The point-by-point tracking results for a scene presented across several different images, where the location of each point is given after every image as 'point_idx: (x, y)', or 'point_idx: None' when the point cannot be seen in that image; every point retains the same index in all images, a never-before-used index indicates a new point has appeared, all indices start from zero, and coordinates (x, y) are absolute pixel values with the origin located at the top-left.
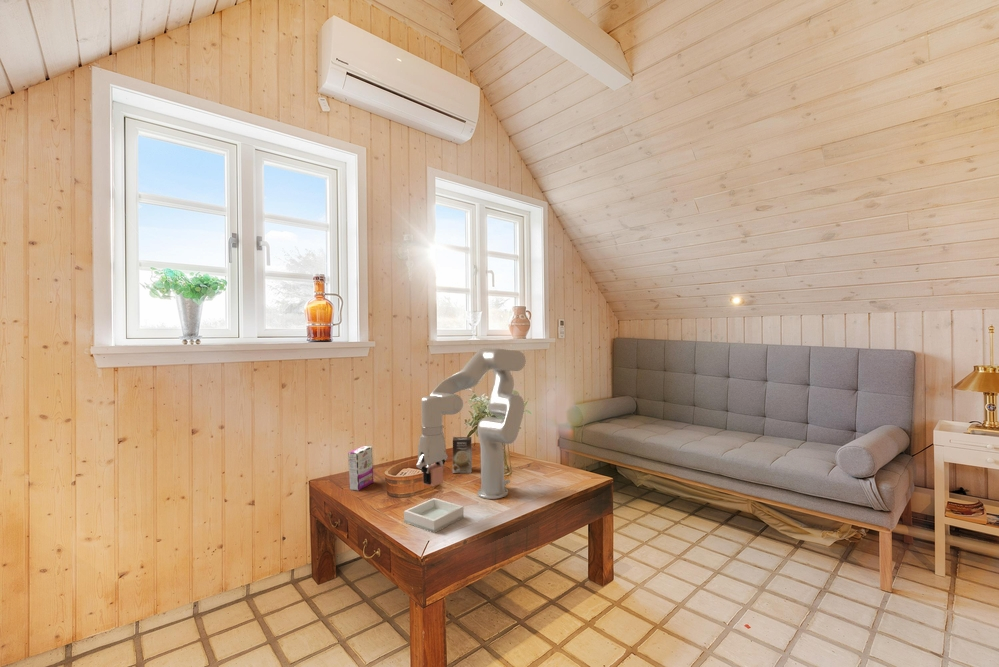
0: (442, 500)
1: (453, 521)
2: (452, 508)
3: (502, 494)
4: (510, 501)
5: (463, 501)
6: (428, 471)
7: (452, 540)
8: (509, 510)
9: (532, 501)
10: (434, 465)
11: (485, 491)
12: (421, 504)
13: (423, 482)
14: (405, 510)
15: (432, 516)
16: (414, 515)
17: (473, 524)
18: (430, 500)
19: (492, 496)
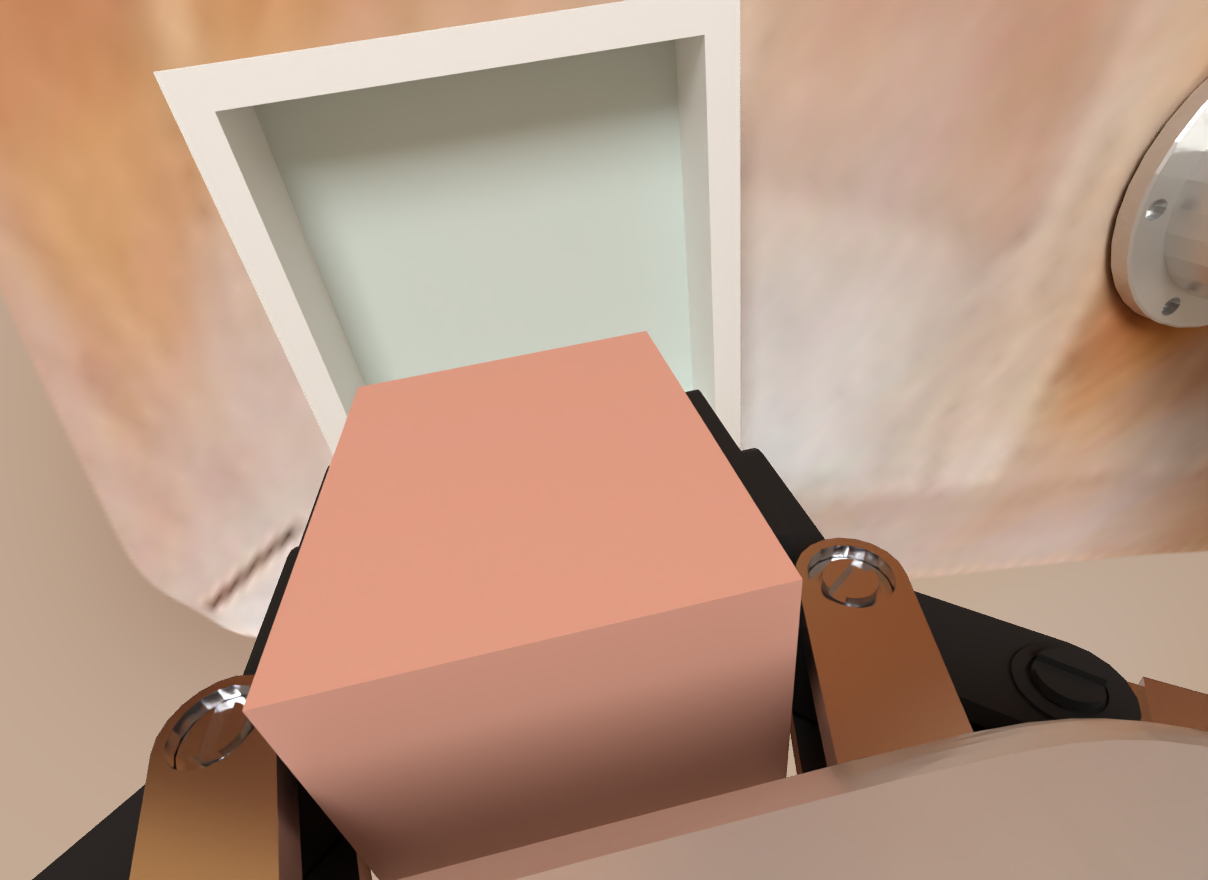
0: (738, 170)
1: None
2: (701, 336)
3: (1196, 319)
4: (1106, 404)
5: (993, 107)
6: (331, 832)
7: None
8: (959, 501)
9: (1139, 489)
10: (672, 745)
11: (1202, 210)
12: (475, 62)
13: (358, 412)
14: (183, 75)
15: (509, 255)
16: (258, 285)
17: None
18: (645, 35)
19: (1136, 292)
